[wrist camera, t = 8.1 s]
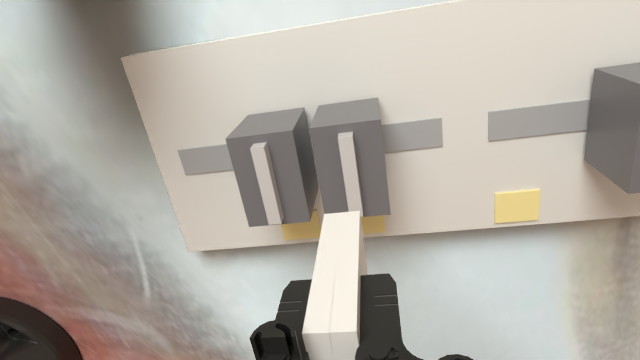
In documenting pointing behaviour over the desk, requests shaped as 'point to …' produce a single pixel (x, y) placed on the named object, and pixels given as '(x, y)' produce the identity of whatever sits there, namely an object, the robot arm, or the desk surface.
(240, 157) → the slider
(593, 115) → the slider
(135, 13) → the desk surface
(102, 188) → the desk surface
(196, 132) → the console
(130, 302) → the desk surface
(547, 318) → the desk surface
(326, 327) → the robot arm
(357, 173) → the slider
